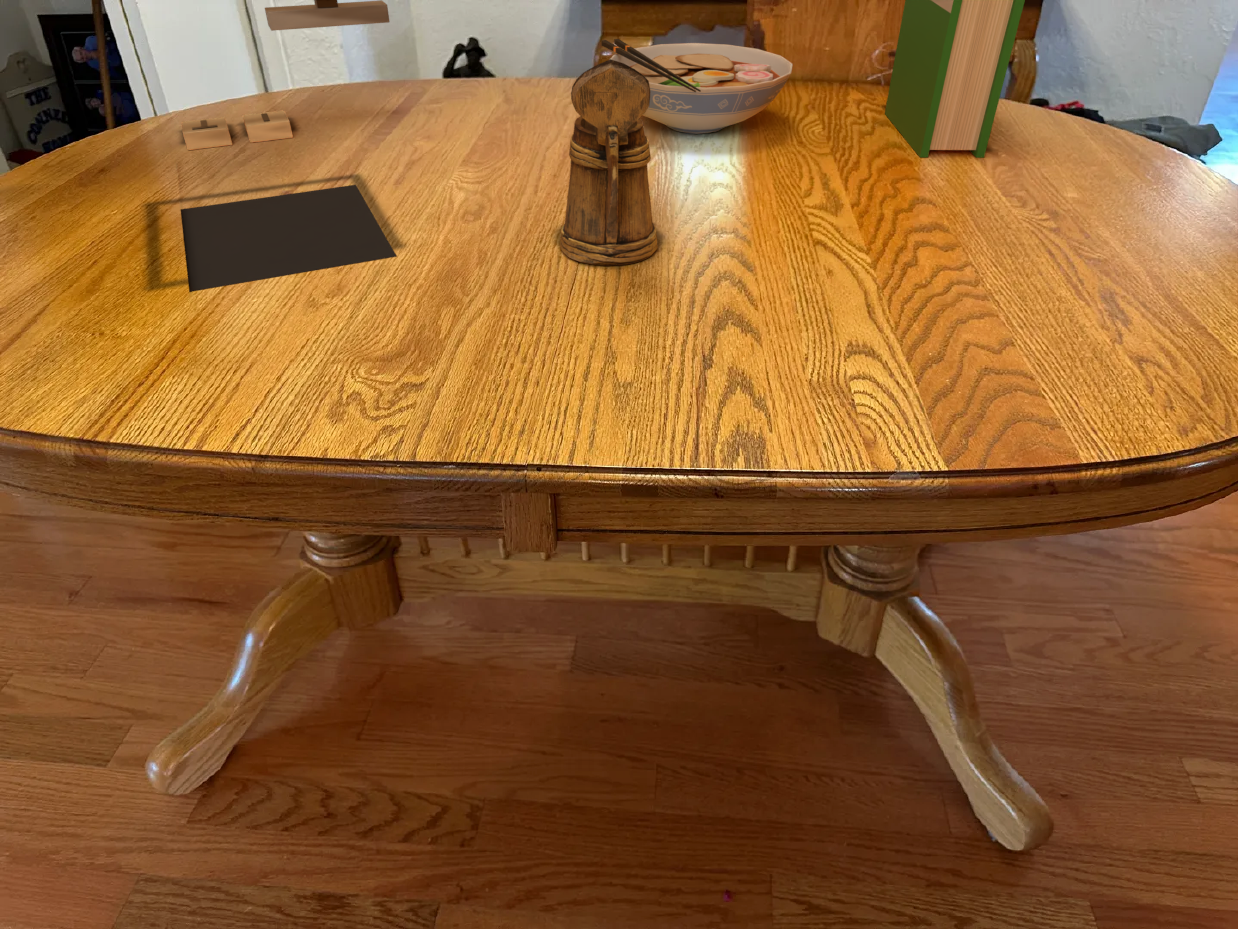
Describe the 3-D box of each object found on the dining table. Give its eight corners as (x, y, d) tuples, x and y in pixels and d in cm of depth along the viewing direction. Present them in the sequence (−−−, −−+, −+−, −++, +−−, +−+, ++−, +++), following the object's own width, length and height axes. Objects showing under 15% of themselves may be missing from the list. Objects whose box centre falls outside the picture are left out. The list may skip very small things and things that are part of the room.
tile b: (246, 131, 106) (241, 113, 105) (288, 126, 108) (284, 109, 107) (250, 142, 103) (245, 124, 102) (293, 137, 104) (289, 119, 103)
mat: (153, 214, 85) (153, 213, 85) (356, 185, 92) (355, 184, 92) (157, 298, 71) (156, 296, 71) (396, 257, 77) (396, 255, 77)
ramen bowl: (826, 143, 103) (837, 70, 98) (652, 167, 96) (654, 90, 91) (730, 92, 121) (735, 28, 116) (578, 108, 114) (576, 42, 109)
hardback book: (984, 157, 99) (1047, -89, 84) (919, 157, 99) (972, -89, 84) (940, 113, 113) (989, -104, 98) (884, 113, 113) (924, -104, 98)
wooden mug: (557, 291, 72) (547, 60, 61) (561, 228, 82) (552, 21, 71) (663, 290, 72) (672, 59, 61) (653, 226, 83) (659, 20, 72)
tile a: (186, 138, 104) (180, 120, 103) (229, 133, 106) (224, 115, 104) (187, 150, 101) (182, 132, 99) (232, 145, 102) (227, 126, 101)
